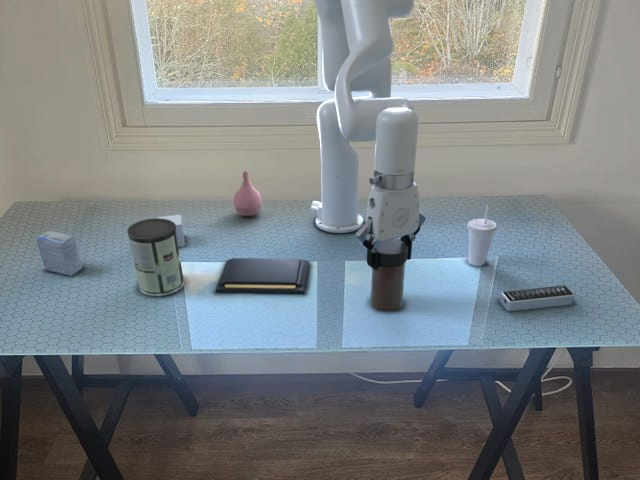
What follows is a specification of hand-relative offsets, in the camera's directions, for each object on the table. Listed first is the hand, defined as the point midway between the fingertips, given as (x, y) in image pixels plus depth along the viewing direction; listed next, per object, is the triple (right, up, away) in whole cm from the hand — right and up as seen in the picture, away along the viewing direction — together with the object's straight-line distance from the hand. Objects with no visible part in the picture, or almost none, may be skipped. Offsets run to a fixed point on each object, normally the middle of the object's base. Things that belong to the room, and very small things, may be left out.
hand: (388, 261), depth 132 cm
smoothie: (+23, +3, +20) cm, 31 cm away
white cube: (-51, +10, +32) cm, 61 cm away
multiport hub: (+32, -8, +5) cm, 33 cm away
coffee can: (-50, -3, +15) cm, 52 cm away
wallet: (-27, -1, +16) cm, 31 cm away
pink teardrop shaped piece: (-33, +20, +45) cm, 59 cm away
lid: (0, +2, -2) cm, 3 cm away
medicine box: (-75, +1, +22) cm, 78 cm away
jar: (0, -8, +6) cm, 10 cm away
